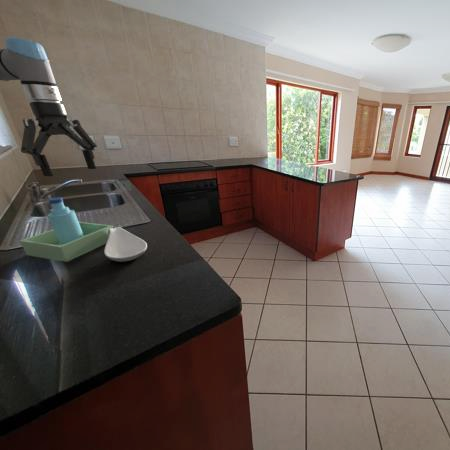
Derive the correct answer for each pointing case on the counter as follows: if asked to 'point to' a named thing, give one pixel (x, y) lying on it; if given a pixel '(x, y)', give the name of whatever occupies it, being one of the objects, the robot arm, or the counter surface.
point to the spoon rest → (123, 245)
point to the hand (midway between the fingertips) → (72, 172)
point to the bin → (51, 248)
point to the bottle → (64, 222)
